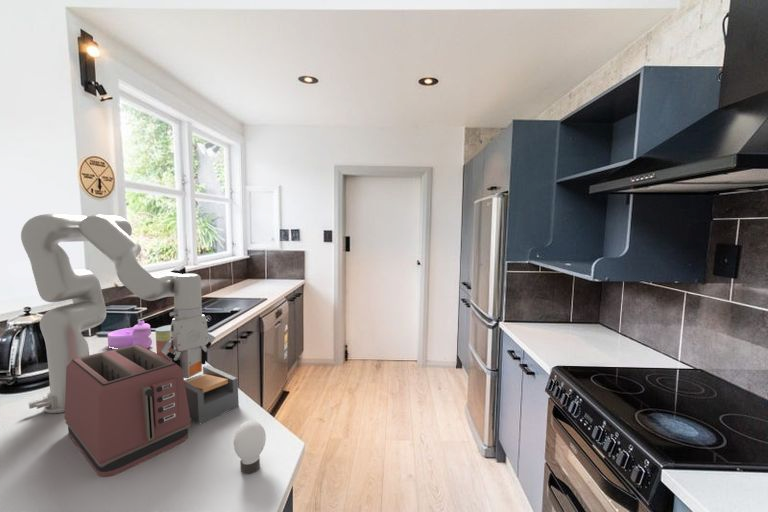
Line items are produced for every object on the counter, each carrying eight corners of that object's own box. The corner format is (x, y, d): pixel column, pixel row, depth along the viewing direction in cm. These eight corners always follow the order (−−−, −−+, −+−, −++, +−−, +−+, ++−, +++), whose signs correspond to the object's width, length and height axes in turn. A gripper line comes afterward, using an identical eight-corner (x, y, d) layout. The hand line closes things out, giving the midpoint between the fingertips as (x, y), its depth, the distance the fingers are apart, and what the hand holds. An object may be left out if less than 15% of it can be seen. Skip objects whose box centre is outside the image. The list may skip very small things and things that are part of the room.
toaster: (104, 486, 71) (97, 394, 69) (64, 432, 91) (58, 359, 89) (197, 440, 86) (193, 364, 85) (146, 402, 106) (142, 340, 105)
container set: (102, 346, 161) (100, 319, 160) (138, 337, 174) (136, 312, 173) (128, 355, 149) (126, 326, 148) (164, 345, 162) (162, 318, 161)
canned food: (191, 352, 151) (189, 326, 151) (164, 360, 142) (162, 332, 141) (178, 347, 157) (177, 323, 157) (151, 355, 148) (150, 328, 147)
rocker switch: (203, 398, 96) (202, 388, 96) (179, 390, 104) (178, 381, 104) (228, 388, 102) (227, 378, 102) (204, 381, 111) (203, 373, 111)
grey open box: (199, 424, 94) (197, 393, 93) (170, 405, 104) (168, 377, 103) (238, 406, 103) (237, 377, 103) (208, 390, 114) (207, 365, 113)
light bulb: (229, 479, 73) (227, 430, 72) (242, 458, 79) (240, 413, 78) (260, 478, 73) (258, 430, 72) (270, 457, 79) (269, 413, 79)
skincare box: (188, 378, 104) (187, 341, 103) (176, 377, 105) (175, 340, 104) (202, 371, 110) (201, 335, 109) (191, 370, 111) (190, 334, 110)
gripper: (163, 320, 96) (165, 379, 98) (221, 309, 111) (222, 361, 112) (152, 316, 101) (154, 373, 102) (209, 306, 115) (210, 356, 116)
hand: (189, 366), depth 107 cm, fingers closed on skincare box, 7 cm apart
